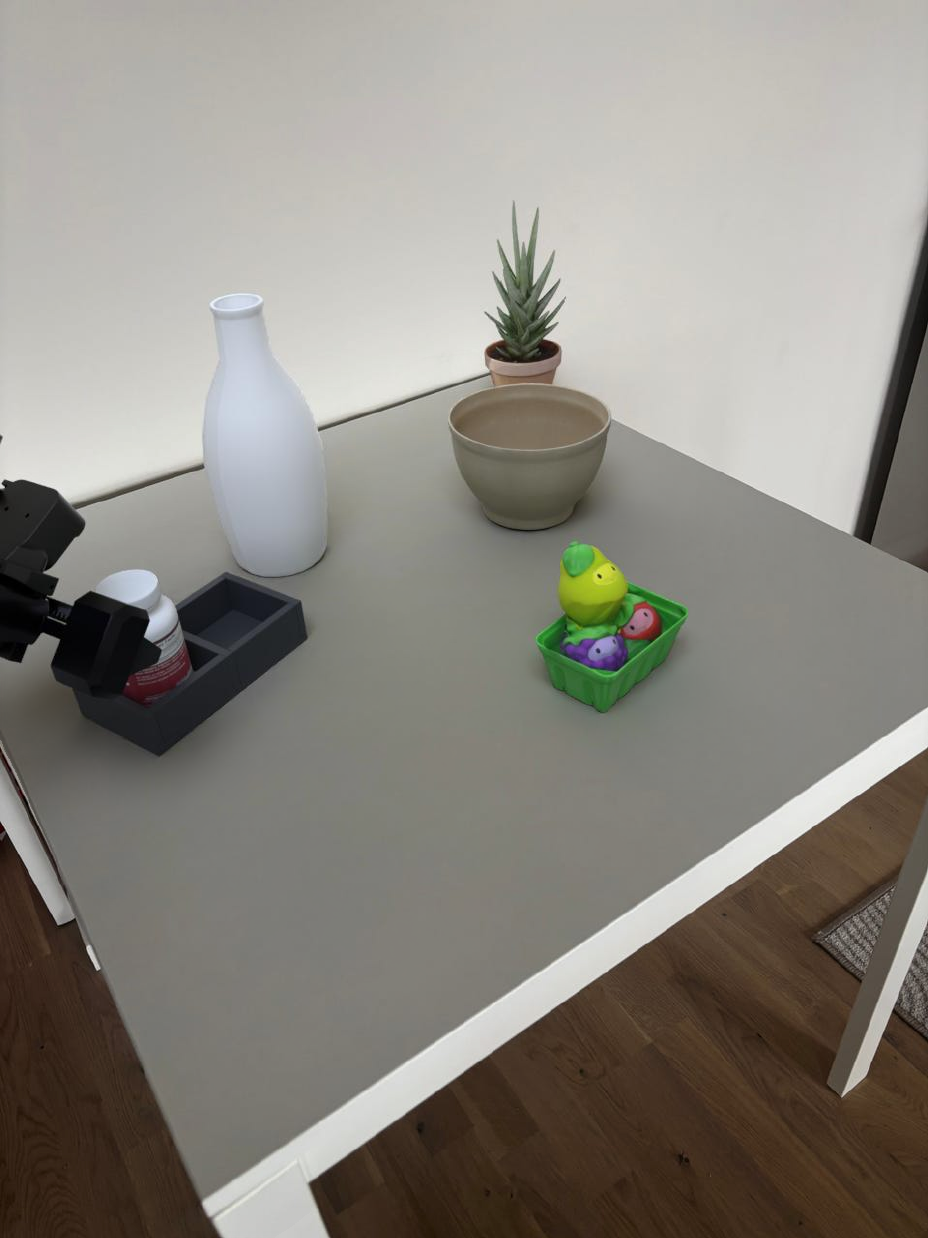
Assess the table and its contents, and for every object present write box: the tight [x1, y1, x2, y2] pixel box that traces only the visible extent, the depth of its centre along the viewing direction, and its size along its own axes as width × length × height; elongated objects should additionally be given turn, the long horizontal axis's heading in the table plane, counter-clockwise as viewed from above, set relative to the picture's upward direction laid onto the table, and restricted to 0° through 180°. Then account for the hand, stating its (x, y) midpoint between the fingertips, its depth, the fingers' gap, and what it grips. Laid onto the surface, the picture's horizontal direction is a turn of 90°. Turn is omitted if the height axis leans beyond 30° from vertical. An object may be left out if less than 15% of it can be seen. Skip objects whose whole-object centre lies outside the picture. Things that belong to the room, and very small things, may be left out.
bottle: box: [201, 292, 329, 578], centre depth 90 cm, size 11×11×25 cm
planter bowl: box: [447, 383, 612, 531], centre depth 99 cm, size 16×16×11 cm
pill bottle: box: [93, 569, 194, 708], centre depth 76 cm, size 6×6×11 cm
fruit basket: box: [534, 541, 690, 713], centre depth 77 cm, size 11×9×11 cm
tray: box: [71, 571, 308, 757], centre depth 81 cm, size 17×9×4 cm, turn 146°
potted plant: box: [483, 199, 567, 387], centre depth 117 cm, size 10×10×25 cm
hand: (113, 638), depth 73 cm, fingers open, 9 cm apart
